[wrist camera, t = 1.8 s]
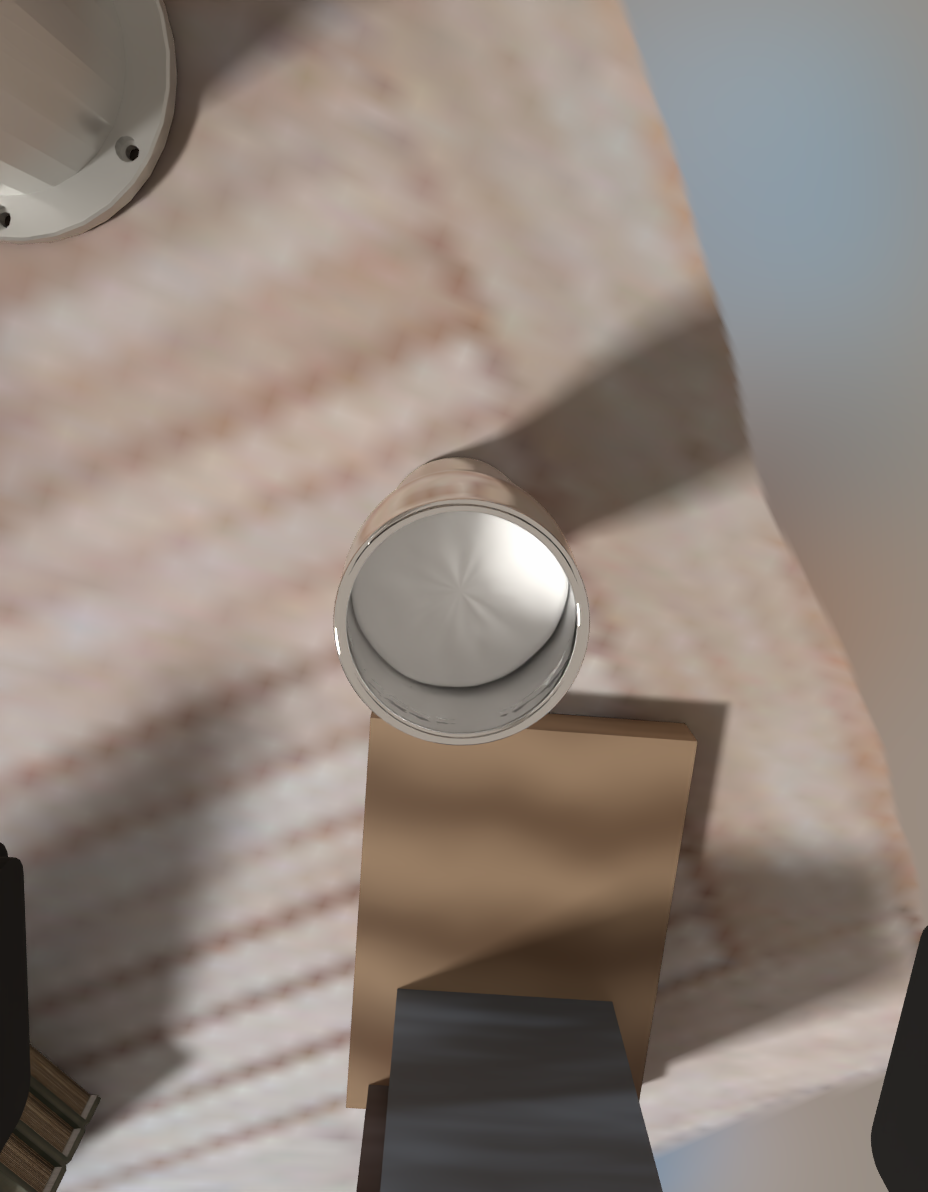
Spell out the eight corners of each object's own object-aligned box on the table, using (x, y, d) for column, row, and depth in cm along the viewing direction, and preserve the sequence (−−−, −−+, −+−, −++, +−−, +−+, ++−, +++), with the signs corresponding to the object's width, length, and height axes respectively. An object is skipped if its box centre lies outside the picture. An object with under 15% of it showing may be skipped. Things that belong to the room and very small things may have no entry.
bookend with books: (374, 700, 38) (323, 920, 22) (684, 723, 39) (844, 953, 23) (350, 1074, 43) (295, 1468, 27) (627, 1090, 43) (726, 1485, 28)
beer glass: (343, 496, 36) (271, 575, 21) (489, 414, 35) (518, 437, 21) (425, 635, 37) (410, 797, 23) (567, 560, 37) (645, 677, 22)
